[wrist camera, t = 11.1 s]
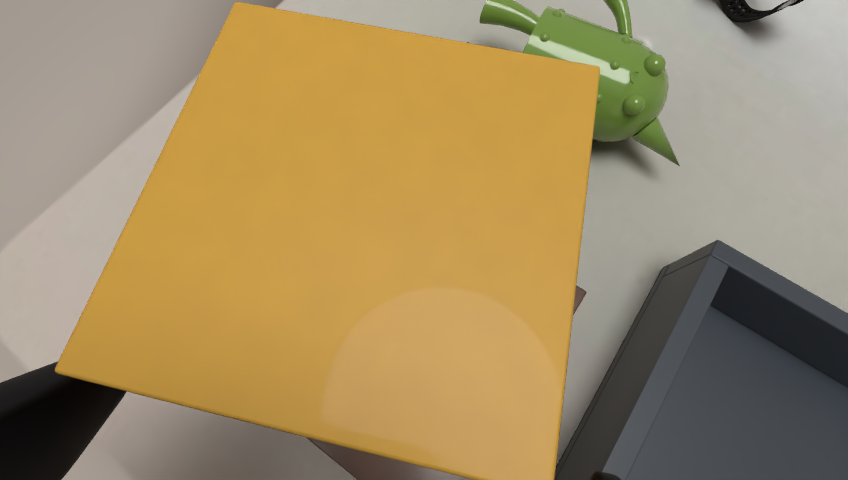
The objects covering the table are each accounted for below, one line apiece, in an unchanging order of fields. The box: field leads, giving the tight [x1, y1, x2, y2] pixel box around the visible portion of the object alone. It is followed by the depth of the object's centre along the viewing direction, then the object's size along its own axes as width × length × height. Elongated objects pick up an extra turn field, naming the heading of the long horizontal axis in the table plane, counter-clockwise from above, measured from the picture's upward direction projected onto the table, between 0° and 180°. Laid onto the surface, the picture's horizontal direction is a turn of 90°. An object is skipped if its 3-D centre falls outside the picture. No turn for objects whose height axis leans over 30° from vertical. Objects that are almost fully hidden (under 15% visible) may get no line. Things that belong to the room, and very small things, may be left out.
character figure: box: [467, 0, 679, 165], centre depth 21 cm, size 12×5×12 cm
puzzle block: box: [55, 2, 600, 480], centre depth 11 cm, size 6×6×11 cm
